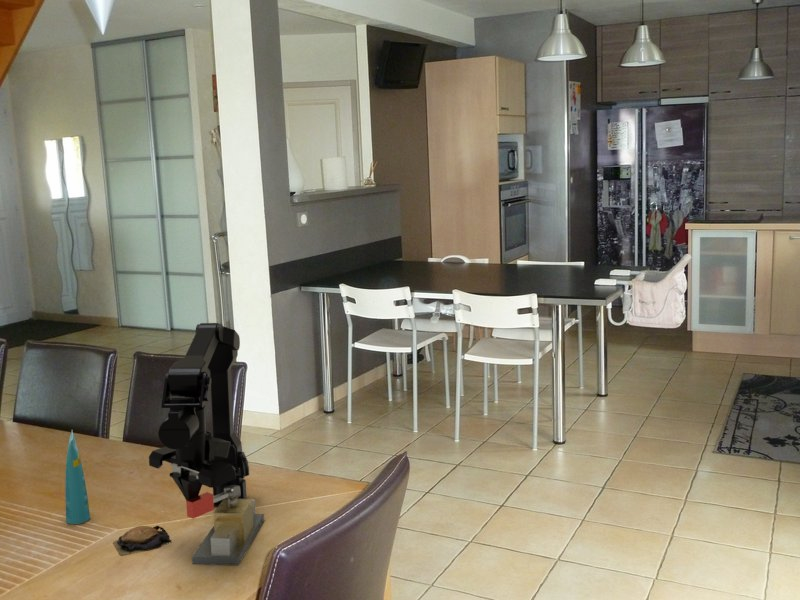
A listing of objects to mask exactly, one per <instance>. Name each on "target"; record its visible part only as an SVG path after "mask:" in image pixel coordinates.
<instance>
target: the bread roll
mask: <svg viewBox="0 0 800 600" xmlns="http://www.w3.org/2000/svg"><path fill="white" fill-rule="evenodd" d="M112 544H113V546H114V548H115V550H116V551H117V553H118V555H119V556H120V557H123V556H128V555H129V556H130V555H133V554H138V553H142V552H146V551H150V550H153V549H154V550H155V549H158V548H161V547H165V546H167V545H169V544H172V539H170V535H169V534H168V532H167V531H166V529H164V527H161V526H160V525H155V526H153V527H152V526H148V525H139V526H135V527H133V528H130V529H129V530H128V531H126V532H124V533H123V535H121V536H119V537H118V539H117V540H114V541H113V542H112Z"/></svg>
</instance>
